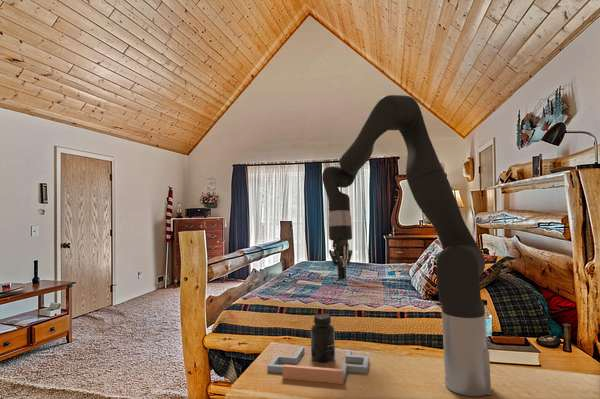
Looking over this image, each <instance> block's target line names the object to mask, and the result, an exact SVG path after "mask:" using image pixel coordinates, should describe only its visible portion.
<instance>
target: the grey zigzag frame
mask: <svg viewBox="0 0 600 399" xmlns="http://www.w3.org/2000/svg"><path fill="white" fill-rule="evenodd" d="M305 350H306V349H305V345H304V346H300V347H299V348H298V350H297V351H296V352H295V354H294V356H292V355H284V354H283V355H282V354H281V355H279V354H276V355H275V356H274V357H273V358H272V360H271V361H269V363H268V364H267V372H269V373H278V374H279V373H280V374H281V373H282V379H284V380H285V379H286V380H296V381H305V382H306V381H307V382H318V383H326V382H327V383H328V384H339V385H344V383H345V380H346V377H347V373H357V372H359V373H360V374H368V370H369V363H370V355H369V356H368V355H356V354H353V352H352V349H347V350H346V353H345V358H344V359H345V362H346V363H342V365H341V368H331V367H319V366H310V365H309V366H307V365H297V364H298V363H299V361H300V360H301V359H302V357H303V355H304V354H303V353H305V352H304V351H305ZM280 363H283V364H280ZM351 363H359V364H351ZM294 364H295V365H294Z"/></svg>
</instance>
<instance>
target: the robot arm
mask: <svg viewBox="0 0 600 399" xmlns="http://www.w3.org/2000/svg"><path fill="white" fill-rule="evenodd" d="M388 131H399V133H400V135H401V137H402V138H403V142H404V144H405V146H406V149H407V151H406V152H407V156H406V157H407V159H406V166H405V177H406V181H407V184H408V187H409V189H410V192H411V194H412V197H413V199H414V201H415V202H416V205H417V206H418V207H419V209H420V210H421V212H422V213H423V215H424V216H425V217H426V219H427V220H428V221H429V222H430V224H431V225H432V227H433V229H434V230H435V232H436V234H437V236H438V239H439V242H440V244H441V248H442V250H441V251H440V252H439V254H438V257H437V260H436V280H437V281H436V282H437V290H438V291H437V292H438V299H439V301H440V304H441V317H442V319H441V320H442V322H441V323H442V340H443V341H442V343H443V364H444V365H443V366H444V382H445V383H444V384H445V387H446V388H447V389H448V390H450V391H452V392H453V393H456V394H458V395H462V396H467V397H482V396H486V395H489V396H491V395H492V382H491V381H492V380H491V362H490V361H491V360H490V351H489V349H488V348H487V335H486V334H487V331H486V330H487V329H486V311H485V309H486V308H485V303H484V301H483V300H482V296H481V284H480V277H481V276H482V275H483V274H484V271H485V268H486V260H485V257H484V254H483V253H482V250H481V248H480V247H479V246H478V244H477V241H475V239H474V236H473V235H472V233H471V231H470V230H469V228H468V226H467V224H466V222H465V219H464V217H463V215H462V211H461V209H460V206H459V204H458V201H457V198H456V196H455V193H454V192H453V189H452V187H451V184H450V182H449V178H448V177H447V175H446V172H445V170H444V168H443V166H442V164H441V162H440V159H439V157H438V156H437V153H436V150H435V148H434V146H433V143H432V141H431V137H430V135H429V132H428V130H427V126H426V123H425V120H424V116H423V114H422V110H421V108H420V105H419V103H418V102H417V101H416V99H415V98H414V97H412V96H409V95H402V94H401V95H400V94H388V95H384V96H382V97H381V98H380V99H379V100H377V102H376V104H375V106H374V107H373V109H371V111H370V114H369V115H368V117H367V119H366V120H365V123H364V124H363V125H362V128H361V130H360V131H359V133H358V135H357V137H355V139H354V140H353V142H352V143H351V145H350V146H349V147H348V148H347V150H346V151H345V152H344V153H343V154H342V155H341V157H340V159H339V162H338V163H339V166H338V165H328V166H326V167H325V168H324V170H323V172H322V183H323V186H324V190H325V193H326V194H325V195H326V197H327V201H328V239H329V240H330V241H332V249H329V250H328V253H329V256H330V259H331V262H332V264H333V266H336V268H337V278H338V280H341V281H342V280H346V279H347V268H348V266H349V265H350V263H351V259H352V256H353V249H350V245H349V241H350V240H352V239H353V226H352V215H351V206H350V205H351V202H350V196H349V195H348V194H347V193H343V192H342V191H340V189H339V188H348V187H350V186H351V185H352V184H353V183H354V181H355V180H356V177H357V175H358V173H359V170H360V169H362V167H363V166H364V165H365V164H366V163H367V162H368V161H369V159H370V158H371V157H372V155H373V152H374V147H375V146H374V145H375V143H376V141H377V140H378V139H379V138H380V137H381V136H382V135H383V134H385V133H387V132H388Z"/></svg>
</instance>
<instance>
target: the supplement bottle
mask: <svg viewBox="0 0 600 399" xmlns="http://www.w3.org/2000/svg"><path fill="white" fill-rule="evenodd" d="M331 319H332V317H331V315H330V314H325V313H322V314H321V313H319V314H315V315H314V316H313V325H312V326H311V328H310V352H311V353H310V355H311V359H312V361H314V362H316V363H320V364H321V363H322V364H323V363H325V364H326V363H330V362H333V361H334V360H335V358H336V343H335V342H336V341H335V340H336V339H335V337H336V336H335V328H334V326H333V325H332V324H331V323H332V320H331Z"/></svg>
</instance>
